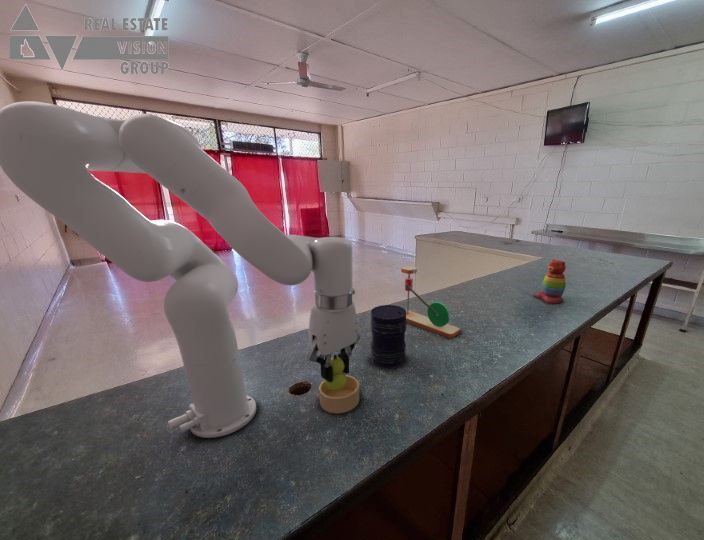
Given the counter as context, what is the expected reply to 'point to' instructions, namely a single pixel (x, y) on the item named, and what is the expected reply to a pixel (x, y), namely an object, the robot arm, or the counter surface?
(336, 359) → the pear plush
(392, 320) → the storage jar
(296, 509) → the counter surface
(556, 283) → the stacking bear
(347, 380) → the bowl
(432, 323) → the crank mechanism
